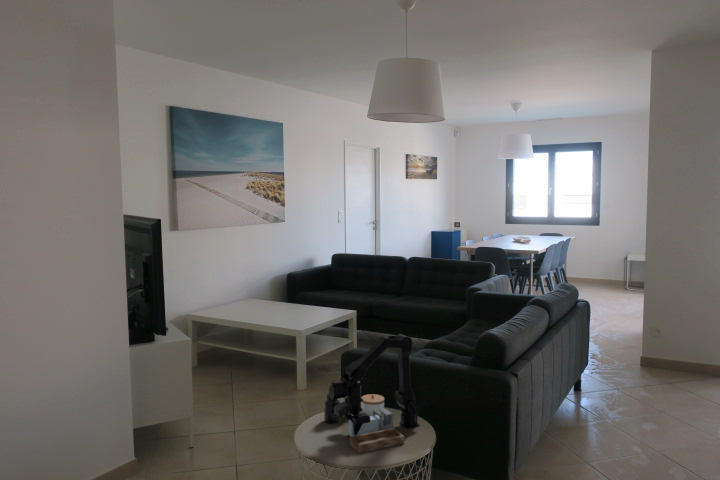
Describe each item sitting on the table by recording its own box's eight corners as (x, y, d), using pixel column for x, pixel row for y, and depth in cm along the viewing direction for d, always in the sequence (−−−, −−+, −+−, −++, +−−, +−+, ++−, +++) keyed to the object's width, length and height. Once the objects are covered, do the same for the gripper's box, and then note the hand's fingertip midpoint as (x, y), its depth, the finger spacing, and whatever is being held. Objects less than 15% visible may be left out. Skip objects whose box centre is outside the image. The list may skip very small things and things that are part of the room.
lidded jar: (368, 421, 240) (368, 400, 239) (356, 412, 249) (356, 392, 248) (388, 416, 245) (388, 396, 244) (376, 408, 254) (376, 389, 254)
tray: (393, 435, 225) (393, 428, 225) (403, 443, 217) (404, 435, 217) (349, 444, 216) (350, 437, 216) (359, 452, 208) (359, 445, 208)
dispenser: (385, 425, 235) (385, 407, 234) (393, 431, 229) (393, 413, 228) (372, 428, 232) (372, 410, 231) (380, 434, 226) (380, 415, 225)
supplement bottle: (337, 424, 235) (337, 397, 235) (322, 423, 237) (322, 396, 236) (341, 418, 242) (341, 392, 241) (326, 417, 243) (326, 391, 243)
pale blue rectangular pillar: (378, 428, 231) (378, 415, 231) (382, 432, 227) (382, 418, 227) (348, 433, 225) (348, 419, 225) (352, 437, 222) (352, 423, 221)
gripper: (327, 391, 228) (326, 427, 229) (345, 406, 211) (345, 445, 212) (350, 387, 233) (350, 423, 234) (371, 402, 216) (370, 440, 217)
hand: (353, 432), depth 224 cm, fingers closed on pale blue rectangular pillar, 4 cm apart
